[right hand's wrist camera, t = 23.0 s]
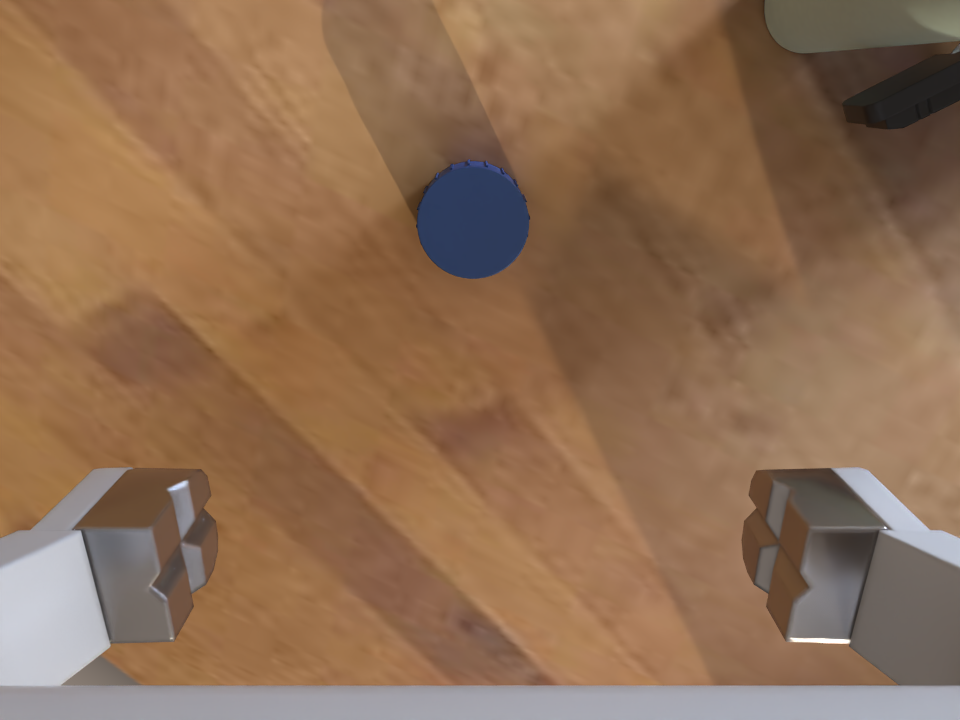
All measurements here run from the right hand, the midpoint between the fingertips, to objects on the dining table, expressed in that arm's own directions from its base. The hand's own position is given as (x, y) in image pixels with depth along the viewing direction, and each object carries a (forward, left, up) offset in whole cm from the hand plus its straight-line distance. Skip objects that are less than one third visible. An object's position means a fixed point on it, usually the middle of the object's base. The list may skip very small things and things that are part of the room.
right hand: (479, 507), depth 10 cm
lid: (0, 0, -22) cm, 22 cm away
